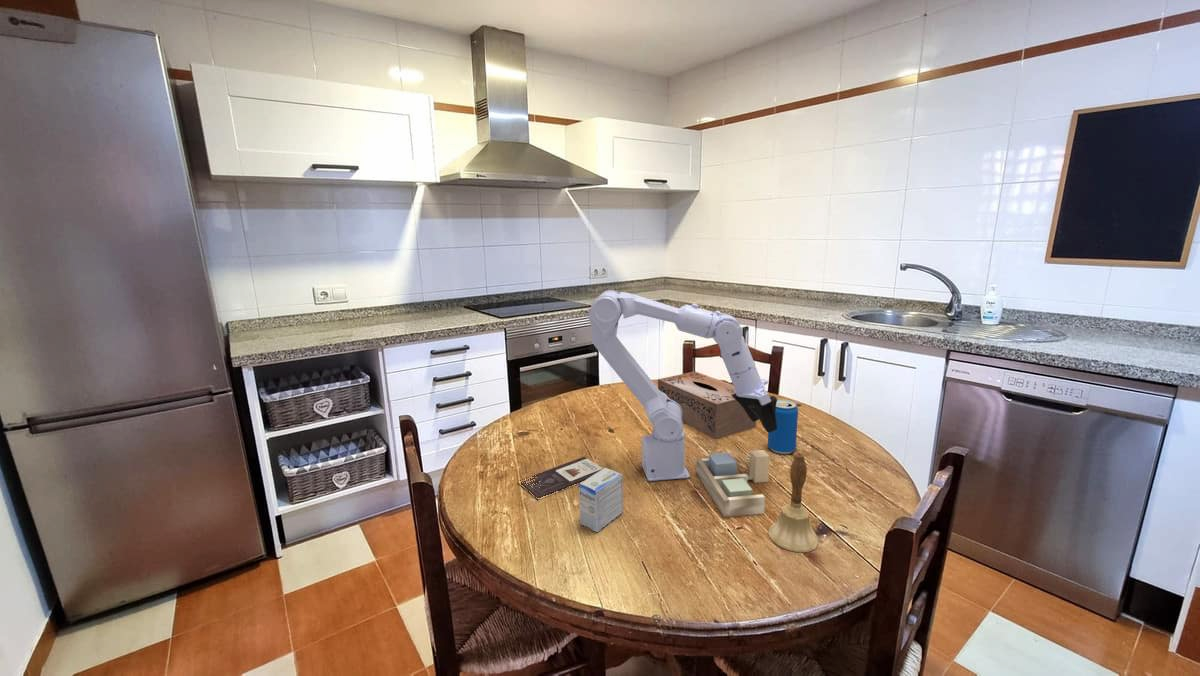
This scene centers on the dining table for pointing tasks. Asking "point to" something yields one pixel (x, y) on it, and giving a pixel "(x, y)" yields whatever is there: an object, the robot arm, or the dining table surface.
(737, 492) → the plain block
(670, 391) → the tissue box cover
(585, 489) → the medicine box
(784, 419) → the beverage can
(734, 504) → the rack
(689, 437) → the dining table surface
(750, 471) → the corded block
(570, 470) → the chocolate bar
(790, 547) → the hand bell
